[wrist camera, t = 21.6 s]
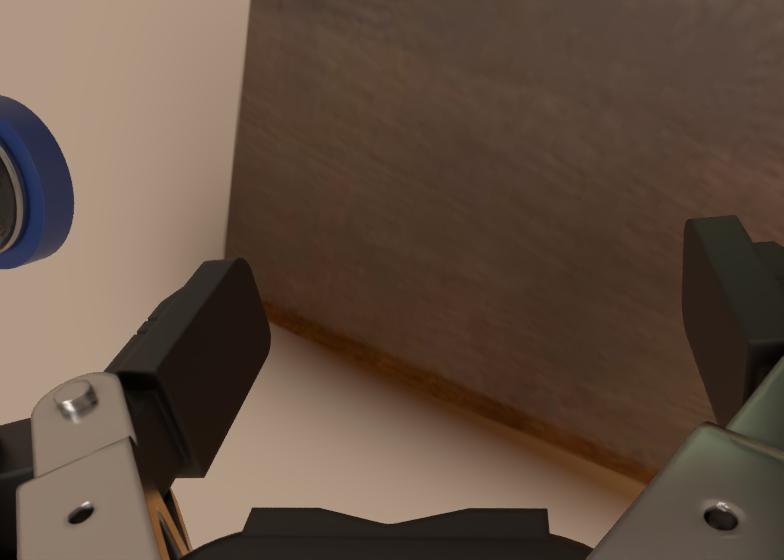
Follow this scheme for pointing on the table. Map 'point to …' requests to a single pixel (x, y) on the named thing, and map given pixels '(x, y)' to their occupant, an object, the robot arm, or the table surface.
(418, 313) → the table surface
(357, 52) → the table surface
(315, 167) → the table surface
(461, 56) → the table surface
